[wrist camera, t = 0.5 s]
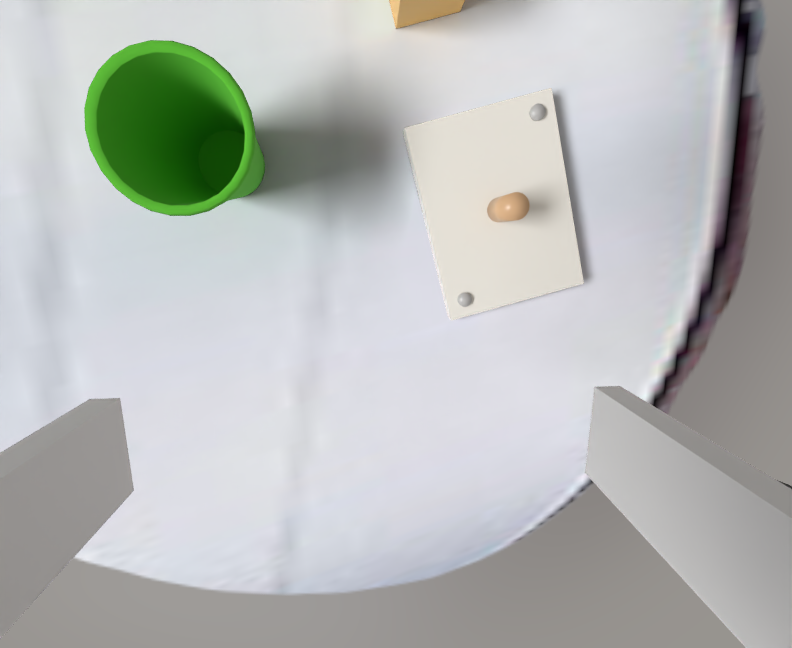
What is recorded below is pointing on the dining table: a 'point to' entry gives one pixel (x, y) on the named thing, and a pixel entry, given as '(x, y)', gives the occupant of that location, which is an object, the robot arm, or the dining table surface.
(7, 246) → the dining table surface
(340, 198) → the dining table surface
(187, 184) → the cup
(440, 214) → the lid
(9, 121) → the dining table surface
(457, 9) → the ball on cube
